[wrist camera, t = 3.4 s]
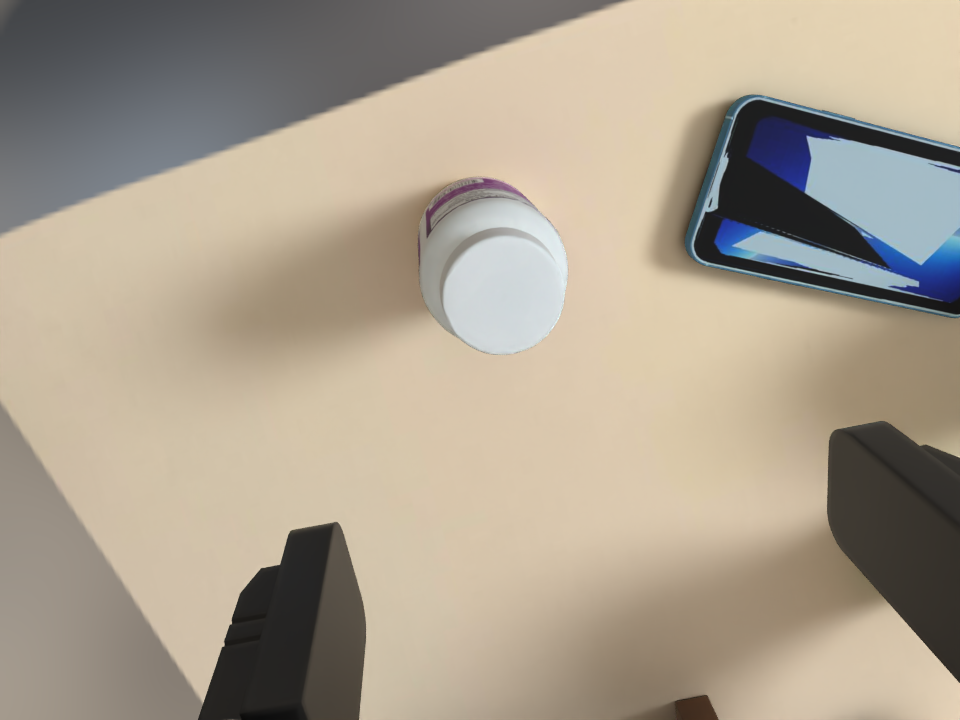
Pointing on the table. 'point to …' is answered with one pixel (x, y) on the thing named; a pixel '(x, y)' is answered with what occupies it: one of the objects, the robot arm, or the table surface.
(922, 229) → the smartphone
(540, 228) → the pill bottle
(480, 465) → the table surface
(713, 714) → the desk shelf
